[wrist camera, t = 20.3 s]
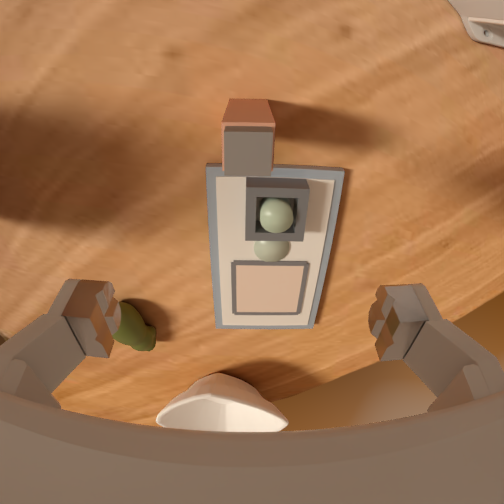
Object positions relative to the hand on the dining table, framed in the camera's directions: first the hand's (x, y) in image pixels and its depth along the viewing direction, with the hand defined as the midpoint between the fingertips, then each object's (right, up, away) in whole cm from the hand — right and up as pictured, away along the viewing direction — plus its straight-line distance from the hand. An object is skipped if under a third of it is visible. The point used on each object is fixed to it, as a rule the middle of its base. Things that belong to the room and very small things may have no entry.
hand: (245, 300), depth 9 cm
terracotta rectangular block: (0, +14, +19) cm, 24 cm away
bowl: (-5, -24, +48) cm, 54 cm away
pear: (-17, -8, +36) cm, 41 cm away
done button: (+3, +6, +23) cm, 24 cm away
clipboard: (+2, +1, +30) cm, 30 cm away
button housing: (+3, +6, +24) cm, 25 cm away
